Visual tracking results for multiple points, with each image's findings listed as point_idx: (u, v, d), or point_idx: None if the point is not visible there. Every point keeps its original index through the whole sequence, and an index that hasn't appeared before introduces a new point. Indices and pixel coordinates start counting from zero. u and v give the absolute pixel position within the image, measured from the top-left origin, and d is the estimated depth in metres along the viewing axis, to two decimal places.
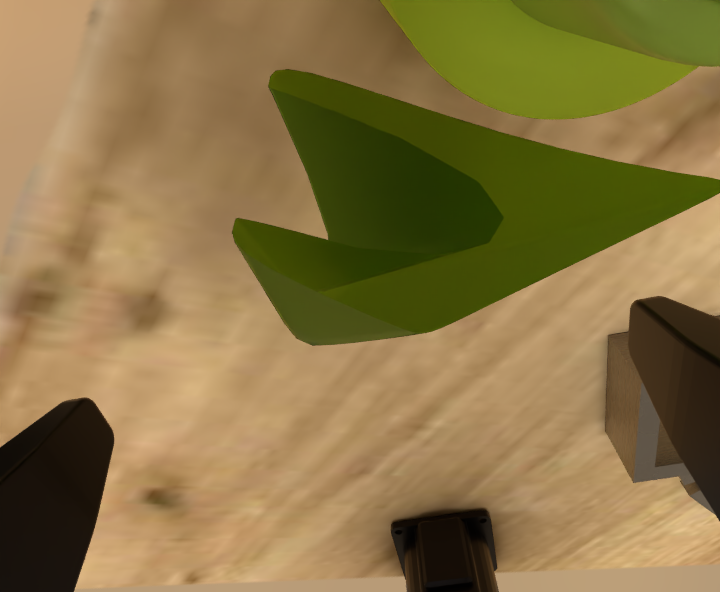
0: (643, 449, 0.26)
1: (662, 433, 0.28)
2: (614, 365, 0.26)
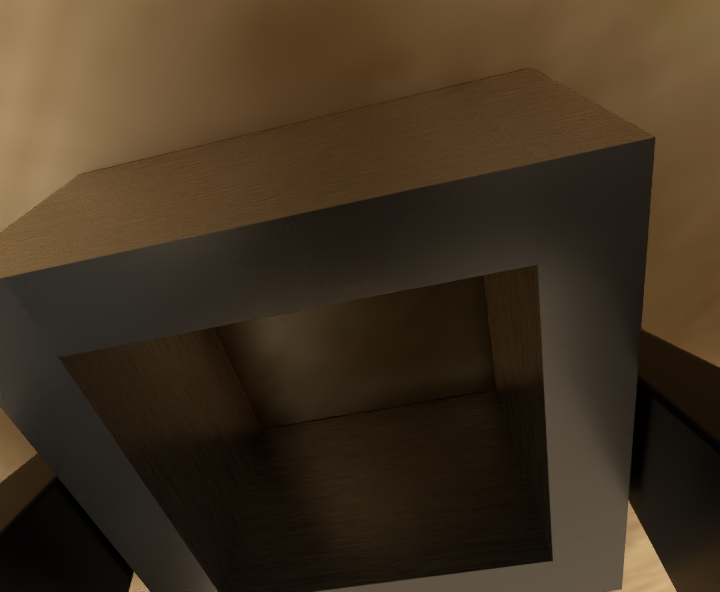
0: (146, 553, 0.07)
1: (317, 482, 0.10)
2: None
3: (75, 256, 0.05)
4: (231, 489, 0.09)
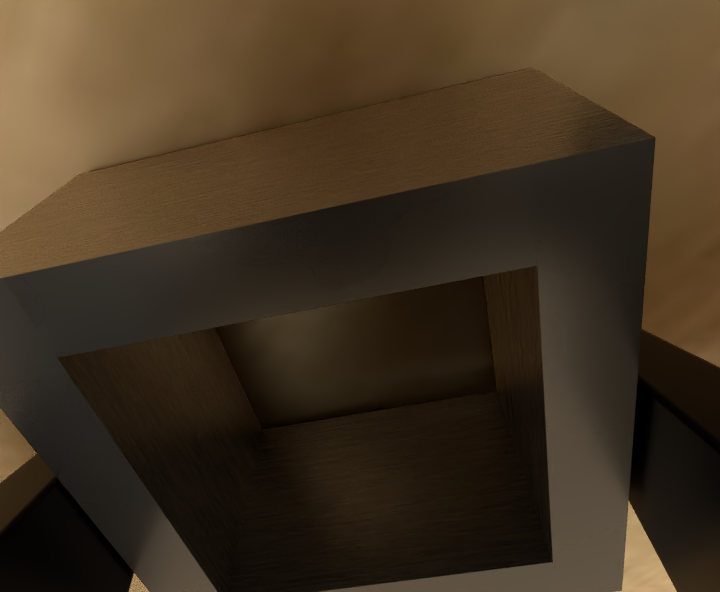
0: (145, 553, 0.07)
1: (317, 482, 0.10)
2: None
3: (73, 256, 0.05)
4: (231, 490, 0.09)
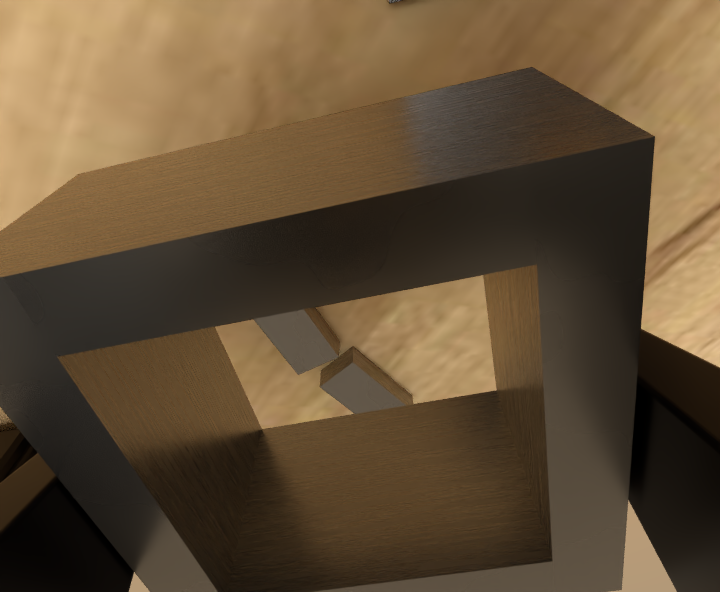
0: (146, 552, 0.07)
1: (317, 482, 0.10)
2: None
3: (74, 255, 0.05)
4: (230, 489, 0.09)
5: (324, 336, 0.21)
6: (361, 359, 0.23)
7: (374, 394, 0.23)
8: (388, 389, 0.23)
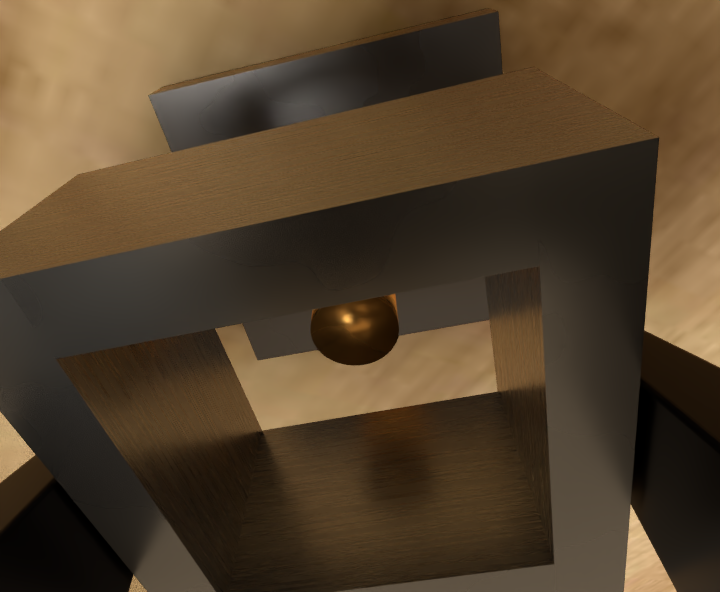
0: (146, 555, 0.07)
1: (317, 484, 0.10)
2: None
3: (72, 257, 0.05)
4: (230, 491, 0.09)
5: None
6: None
7: None
8: None
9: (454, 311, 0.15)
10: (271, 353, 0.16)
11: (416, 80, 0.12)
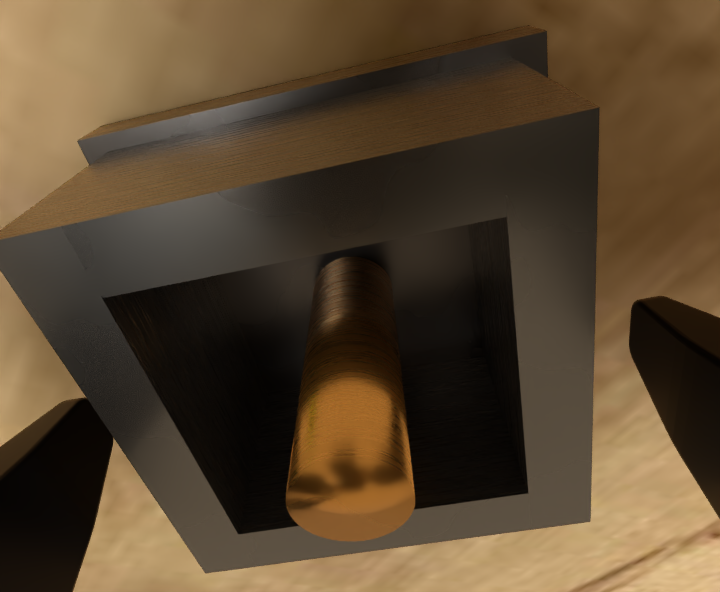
0: (169, 485, 0.08)
1: None
2: None
3: (120, 209, 0.06)
4: (242, 439, 0.10)
5: None
6: None
7: None
8: None
9: None
10: None
11: None
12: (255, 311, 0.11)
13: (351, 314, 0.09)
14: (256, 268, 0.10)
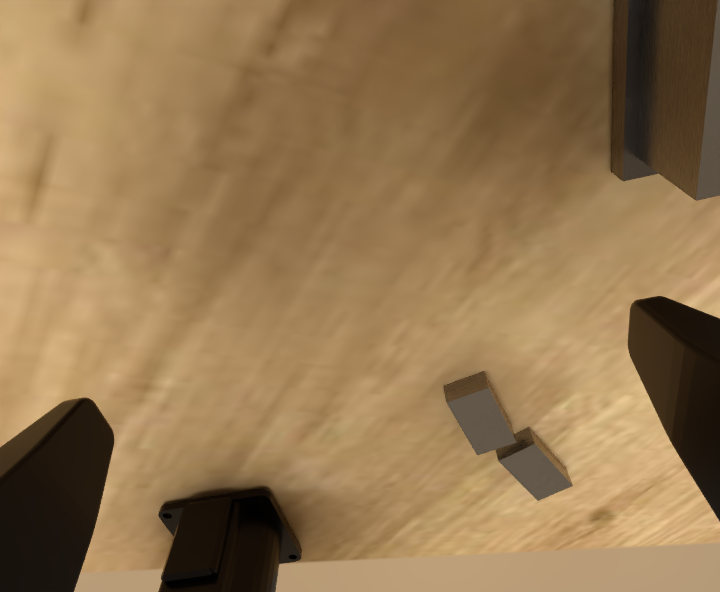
0: None
1: None
2: None
3: None
4: None
5: (508, 426, 0.24)
6: (537, 439, 0.26)
7: (543, 469, 0.26)
8: (556, 466, 0.26)
9: None
10: (638, 173, 0.18)
11: None
12: None
13: None
14: None
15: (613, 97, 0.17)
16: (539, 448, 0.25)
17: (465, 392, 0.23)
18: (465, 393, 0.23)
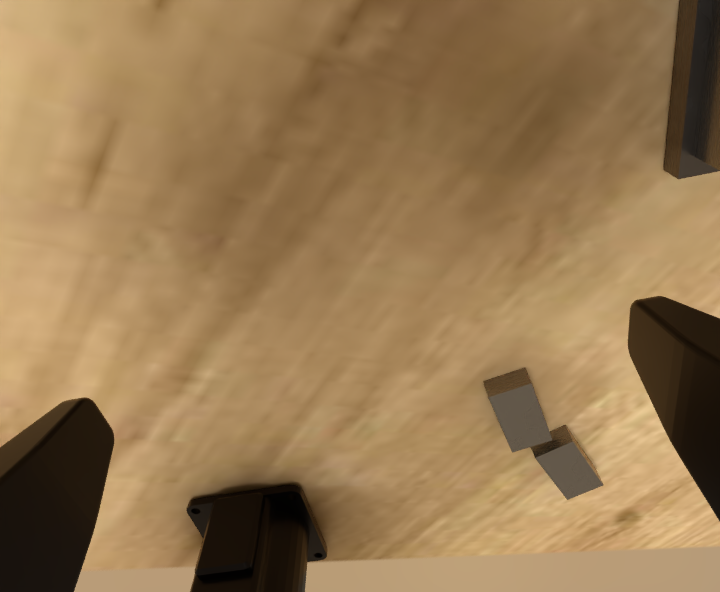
0: None
1: None
2: None
3: None
4: None
5: None
6: (572, 437, 0.26)
7: (577, 468, 0.26)
8: (589, 464, 0.26)
9: None
10: (693, 171, 0.18)
11: None
12: None
13: None
14: None
15: (672, 97, 0.18)
16: (576, 446, 0.25)
17: (507, 387, 0.24)
18: (507, 388, 0.24)
